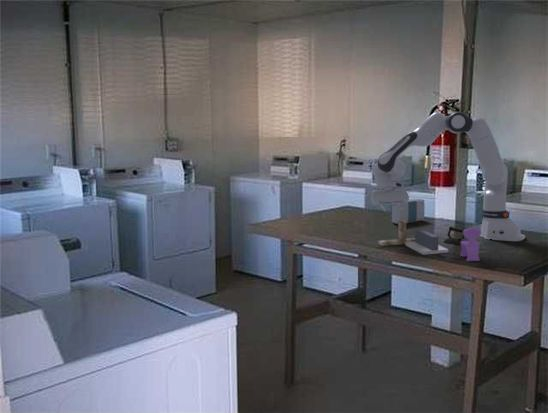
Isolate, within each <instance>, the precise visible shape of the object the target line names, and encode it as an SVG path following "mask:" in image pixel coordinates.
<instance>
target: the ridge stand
mask: <svg viewBox="0 0 548 413" xmlns="http://www.w3.org/2000/svg"><path fill="white" fill-rule="evenodd" d="M414 238H415V242H405V244H404V245H405V247H408V248H409V249H412V250H413V251H415V252H417V253H419V254H421V255H422V256H423V255H424V256H425V255H435V254H445V253H446V254H447V253H449V249H448V248H447V247H445V246H442V245H440V244H439V236H438V235H436V234H433V233H431V232H429V231H426V230H424V229H423V228H418V229H416V228H415V229H414Z"/></svg>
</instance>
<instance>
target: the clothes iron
mask: <svg viewBox="0 0 548 413" xmlns="http://www.w3.org/2000/svg"><path fill="white" fill-rule="evenodd" d="M464 230H465V229H462V228H458V227H454V226H452V225H451V226H449V228H448V232H447V237H448V238H446V239H445V240H444V241H443V244H450V245H459V246H461V241H464V239H465V238H466V237H465V236H464V235H463V231H464ZM451 231H452V232H457V233H461V234H462V237H461V238H457V237H451V235H450V234H451Z"/></svg>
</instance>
